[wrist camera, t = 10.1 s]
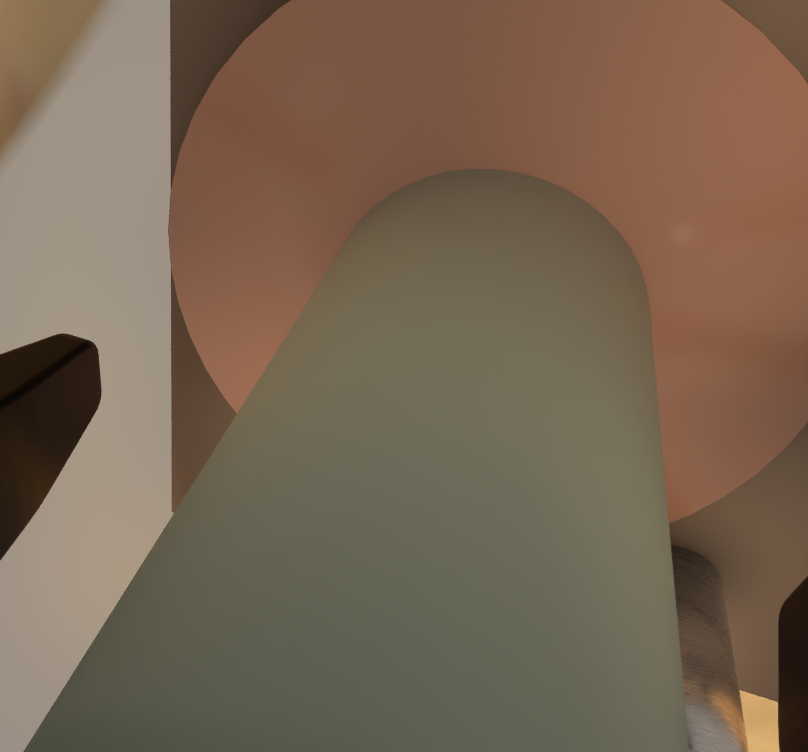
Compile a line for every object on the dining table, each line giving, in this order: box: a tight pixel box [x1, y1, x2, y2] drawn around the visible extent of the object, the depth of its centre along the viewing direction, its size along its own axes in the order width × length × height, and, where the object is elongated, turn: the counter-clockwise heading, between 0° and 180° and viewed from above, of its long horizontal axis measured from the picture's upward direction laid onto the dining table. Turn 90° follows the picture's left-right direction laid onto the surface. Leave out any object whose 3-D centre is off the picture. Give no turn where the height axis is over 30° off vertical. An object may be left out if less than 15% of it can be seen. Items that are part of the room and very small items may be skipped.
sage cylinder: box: [24, 169, 689, 752], centre depth 8 cm, size 5×5×8 cm
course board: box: [168, 0, 808, 702], centre depth 12 cm, size 18×15×1 cm
